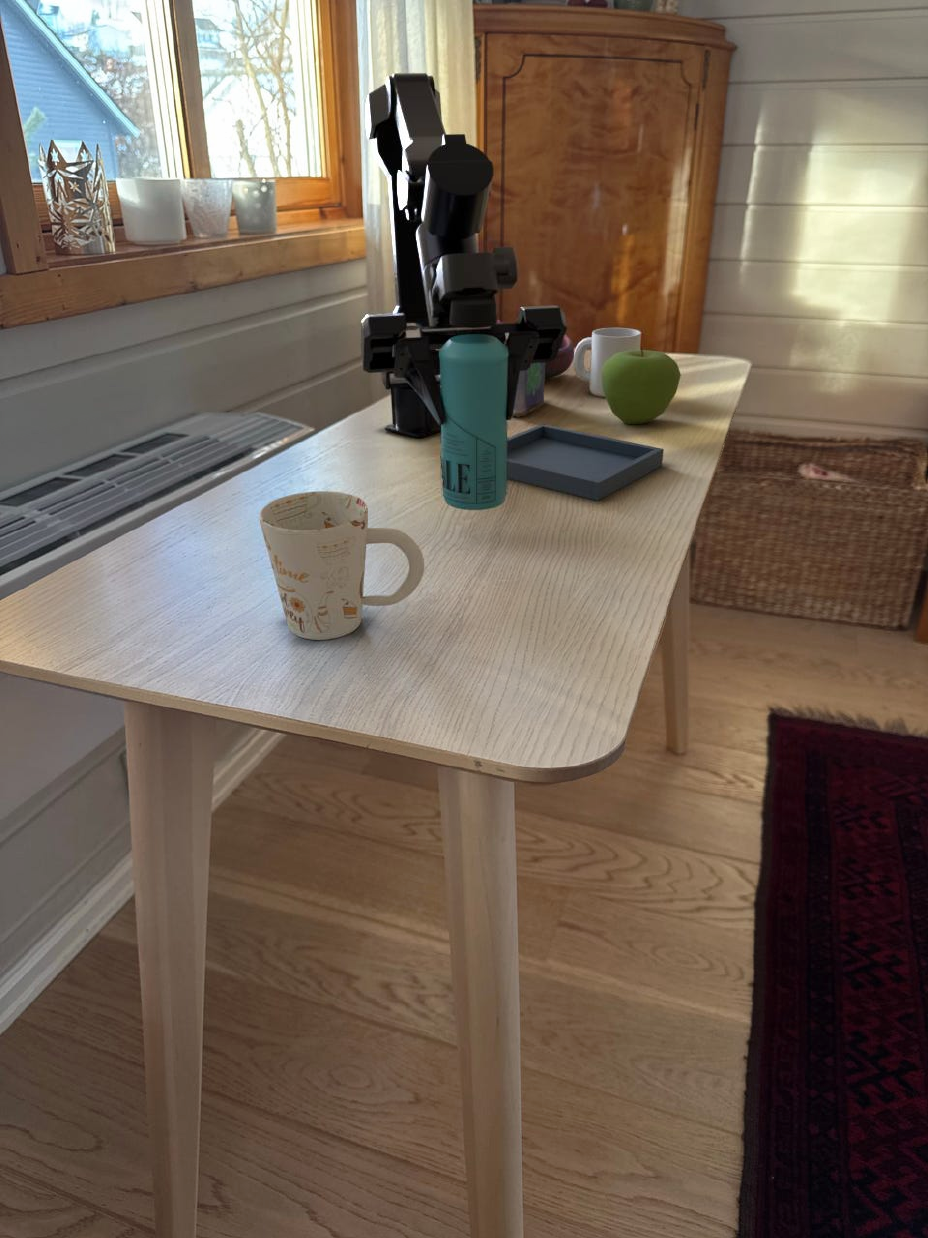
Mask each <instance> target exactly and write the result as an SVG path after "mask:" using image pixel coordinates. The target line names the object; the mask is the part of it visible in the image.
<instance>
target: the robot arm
mask: <svg viewBox="0 0 928 1238" xmlns="http://www.w3.org/2000/svg"><path fill="white" fill-rule="evenodd" d="M434 78H435V77H434V76H433V75H428V74H427V72H400V73H399V72H398V73H395V72H394V73H393V74H392V75H387V77H386V80H385V83H384V84H383V85H381V86H379V87H377V88H376V89H374V90H373V91H371V92H369V93H368V94H367V98H366V103H365V109H364V110H365V111H364V112H365V113H364V115H365V130H366V138H367V140H371V142H372V143H371V144H372V152H373V158H374V159H375V161H376V163H377V164H378V166H379V168H380V169H381V171H382V173H383V174H384V175H385V177H386V179H387V185H388V186H387V187H388V200H389V214H390V215H389V216H390V229H391V243H392V244H391V245H392V246H391V247H392V256H393V257H392V260H393V261H392V262H393V273H394V274H393V275H394V276H393V277H394V288H395V289H394V291H395V302H396V303H395V307H394V310H393V311H392V312H389V313H369V314H366V315H365V317H363V319H362V320H361V325H360V326H361V327H360V329H361V330H360V354H361V355H360V356H361V362H362V364H361V365H362V370H363V371H364V372H366V373H368V374H375V373H376V374H377V373H381V381H382V384H383V386H384V389H385V390H386V391H387V390H390V402H391V420H392V421H391V424H387V425H385V426H384V430H385V431H387V432H392V433H395V434H399V435H403V436H408V437H412V438H417V439H422V438H423V437H426V436H428V435H431V434H434V433H437V432H441V425H443V424H444V412H443V404H442V400H441V396H440V388H441V384H440V358H439V351H440V349H441V348H442V347H443V345H444V344H445V343H446V342H447V341H448V340H449V339H450V338H452V337H454V336H459V335H468V334H482V335H490V336H494V337H496V338H497V339H498V340H499V341H500V342H501V343H502V344H503V345H504V346H505V347H506V348H507V349H508V352H509V355H508V367H507V421H511V420H512V419H513V417H512V415H513V410H514V404H515V398H516V392H517V385H518V379H519V374H520V371H525V370H527V369H529V368H530V366H531V363H544V362H550V361H552V360H554V359H555V358H556V356H557V353H558V351H559V348H560V346H561V343H562V341H563V338H564V336H565V335H566V333H567V330H568V324H567V317H566V314H565V312H564V311H563V310H562V308H561V307H560V306H558V305H557V304H552V305H529V306H528V305H527V306H520V308H519V312H518V315H517V319H516V322H512V323H511V322H510V323H504V324H496V325H493V326H489V327H482V328H464V327H456V326H453V325H451V324H450V313H451V302H452V300H453V299H456V298H461V297H486V298H491V299H493V300H495V304H496V305H497V302H496V297H495V295H496V294H498V293H499V291H500V290H512V289H513V288H514V286H515V285H516V284H517V282H518V278H519V273H518V261H517V257H516V252H515V249H514V246H500V247H499V246H497V247H494V248H493V250H492V252H480V251H479V245H478V240H477V234H480V233H481V231H482V229H483V226H484V221H485V217H486V212H487V207H488V203H489V198H490V196H491V188H492V184H493V179H494V174H495V173H494V164H493V161H491V160H490V158H489V156H487V154H485V153H484V151H482V150H481V149H480V148H479V147H477V146H474V145H472V144H470V143H467V138H466V134H465V133H457V134H454V133H451V134H447V133H446V130H445V126H444V123H443V118H442V103H441V93H440V92H439V91H438V89H436V84H435V79H434ZM392 374H393V375H392ZM513 416H514V415H513Z"/></svg>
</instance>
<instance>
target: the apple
mask: <svg viewBox="0 0 928 1238" xmlns="http://www.w3.org/2000/svg"><path fill="white" fill-rule="evenodd" d="M681 376H682V374H681V371H680V368H679V365H678V363H677V362H676V360H674V359H673V358H672V357H670V356H669V354H666V353H665V352H662V351H657V350H656V351H655V350H648V349H645V350H644V349H643V347H640V350H631V351H625V352H620V353H616V354H615V355H613V356H612V357H611V358H609V359H608V360H607V361H605V363H604V366H603V368H602V371H601V380H602V388H603V392H604V394H605V397H604V398H605V399H606V402H607V404H608V407H609V410H610V412H611V413H612V414H613V415H614V416H616V418H618V419H619V421H621V422H622V423H624V424H626V425H642V424H646V423H650V422H651V421H653V420H654V419H657V418H658V417H660V416H661V415H663V414H664V413H665V412H666V410H667V409H668V407H669V405H670V404H671V403H672V401H673V400H674V398H675V395H676V394H677V391H678V388H679V385H680V380H681Z"/></svg>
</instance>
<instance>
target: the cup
mask: <svg viewBox="0 0 928 1238" xmlns="http://www.w3.org/2000/svg"><path fill="white" fill-rule="evenodd" d="M641 340H642V331H641V330H638V329H634V328H628V327H604V328H598V329H594V330H592V332H591V337H589V336H588V337H585V338H582V339H581V340H580V341H579V342H578V344H577V345H576V346H575V348H574V359H573V369H574V371H575V374H576V376H577V377H578V378H579V379H580V381H582V382H584V383H588V384H589V391H590V393H591V394H592V395H594V396H597V397H601V398H606V397H605V394H604V392H603V388H602V380H601V371H602V368H603V366H604V363H605V361H607V360H608V359H609V358H611V357H612V356H613V355H615V354H616V353H620V352H625V351H631V350H640V348H641ZM589 349H591V350H590V351H591V352H590V367H589V368H590V369H589V371H587V370H586V368H585V367H586V366H585V354H586V352H587V350H589Z"/></svg>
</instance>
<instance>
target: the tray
mask: <svg viewBox="0 0 928 1238" xmlns="http://www.w3.org/2000/svg"><path fill="white" fill-rule="evenodd" d="M508 439H509V440H508ZM507 441H509V443H508V446H509V448H508V452H509V453H507V464H509V465H507V479H508V480H509V479H510V480H514V481H518V482H521V483H526V484H529V485H533V486H536V487H537V486H538V487H542V488H546V489H550V490H553V491H558V492H561V493H565V494H568V495H573V496H577V497H581V498H585V499H588V500H593V501H598V502H599V501H601V500H602V499H603V498H605V497H607V496H610V495H611V494H613V493H615V492H617V491H618V490H621V489H623V488H624V487H626V486H627V485H629V484H631V483H633V482H635V481H637V480H639V479H640V478H642V477H644V476H646V475H648V474H650V473H652V472H653V471H656V469H658V468H660V467H663V462H664V461H663V460H664V453H665V452H664V451H665V448H663V447H657V446H651V445H647V444H641V443H637V442H632V441H628V440H622V439H617V438H613V437H607V436H603V435H597V434H594V433H593V434H592V433H587V432H583V431H579V430H574V429H569V428H564V427H560V426H554V425H549V424H544V423H541V424H539V425H536V426H533V427H531V428H529V429H526V430H523V431H521V432H519V433H517V434H514V435H512V436H509V437H507ZM508 454H509V457H508ZM508 460H509V463H508ZM508 467H509V468H508ZM508 471H509V472H508Z"/></svg>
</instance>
